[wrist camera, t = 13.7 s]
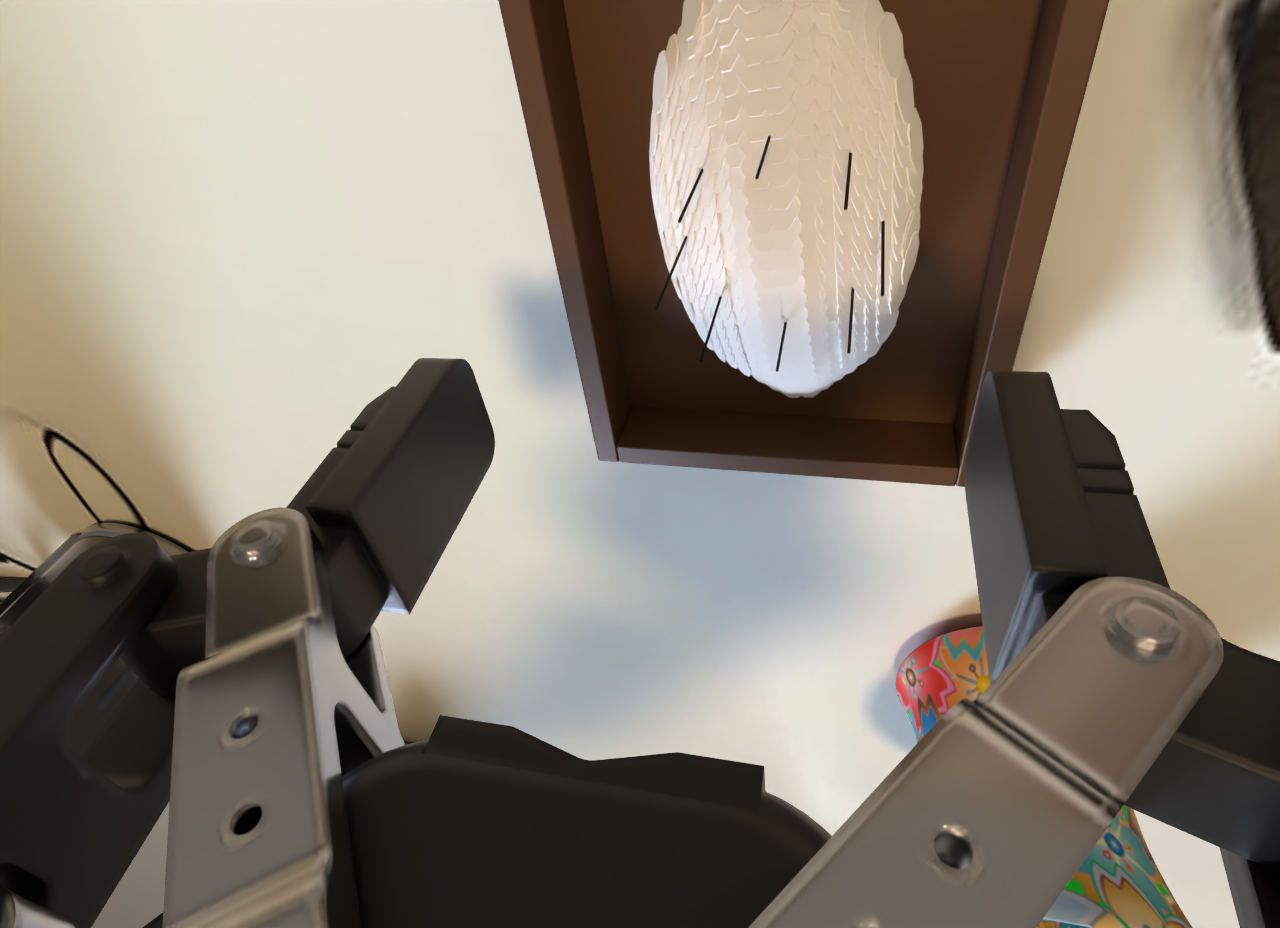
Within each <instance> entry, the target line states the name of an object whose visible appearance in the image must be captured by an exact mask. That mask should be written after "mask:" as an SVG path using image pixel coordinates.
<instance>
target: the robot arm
mask: <svg viewBox="0 0 1280 928" xmlns="http://www.w3.org/2000/svg"><path fill="white" fill-rule="evenodd" d="M350 427H351V430H347V431H346V432H345V434H344V435H343V436H342V438H341V439H340V440H339V441H338V443H337V448H333V449H332V450H331V452H330V453H329V454H328V455H327V457H326V458H325V459H324V460H323V462H322V463H321V464H320V466H319V467H318V468H317V469H316V471H315V472H314V473H313V474H312V476H311V477H310V478H309V480H308V481H307V482H306V483H305V485H304V486H303V487H302V488H301V490H300V491H299V492H298V494H297V495H296V496H295V497H294V499H293V500H292V501H291V503H290V504H289V505H288V506H287V508H273V509H268V510H264V511H261V512H257V513H255V514H253V515H250V516H248V517H246V518H244V519H242V520H241V521H239V522H237V523H236V524H234V525H233V526H232V527H230V528H229V529H228V530H227V531H225V532H224V533H223V534H222V535H221V536H220V537H219V539H218V540H217V541H216V542H215V544H214V545H213V547H212V548H210V549H205V550H199V551H194V552H188V551H186V550H185V549H183V548H181V547H180V546H178V545H176V544H174V543H172V542H170V541H168V540H166V539H164V538H162V537H160V536H158V535H155V534H153V533H150V532H147V531H145V530H142V529H139V528H135V527H132V526H128V525H123V524H117V523H98V524H94V525H92V526H90V527H88V528H87V529H86V530H85V531H84V532H83V533H82V534H81V535H80V536H77V535H71V536H70V537H69V538H68V539H67V540H66V541H65V542H64V543H63V544H62V545H61V546H60V547H59V548H58V549H57V550H56V551H55V552H54V553H53V554H52V555H51V556H49V557H48V558H47V559H46V560H45V561H44V562H43V563H42V564H41V565H40V566H39V567H38V568H37V569H36V570H35V571H34V572H33V573H32V574H31V575H30V576H29V577H27V578H0V593H1V592H12V593H11V594H10V595H9V596H8V597H7V598H5V599H4V600H3V601H2V602H1V603H0V928H91V926H92V925H93V923H94V922H95V920H96V918H97V917H98V915H99V913H100V912H101V910H102V909H103V907H104V906H105V904H106V902H107V901H108V899H109V897H110V896H111V894H112V893H113V891H114V889H115V888H116V886H117V885H118V883H119V881H120V880H121V878H122V877H123V875H124V873H125V872H126V870H127V868H128V867H129V865H130V864H131V862H132V860H133V859H134V857H135V856H136V854H137V852H138V851H139V849H140V847H141V846H142V844H143V843H144V841H145V839H146V838H147V836H148V835H149V833H150V831H151V830H152V828H153V826H154V825H155V823H156V822H157V820H158V818H159V816H160V815H161V814H162V812H163V810H164V809H165V807H166V806H167V804H168V802H169V801H170V806H169V824H168V842H167V861H166V878H165V897H164V912H163V913H161V914H160V915H159V916H158V917H156V918H155V919H153V920H152V921H151V922H149V923H148V924H147V925H146V926H144V927H143V928H1037V926H1038V925H1039V923H1040V922H1041V921H1042V919H1043V918H1044V916H1045V915H1046V914H1047V912H1048V911H1049V909H1050V908H1051V907H1052V905H1053V904H1054V902H1055V901H1056V899H1057V898H1058V897H1059V895H1060V894H1061V892H1062V891H1063V890H1064V888H1065V887H1066V885H1067V884H1068V883H1069V881H1070V880H1071V878H1072V877H1073V876H1074V874H1075V873H1076V871H1077V870H1078V868H1079V867H1080V866H1081V864H1082V863H1083V861H1084V860H1085V859H1086V857H1087V856H1088V854H1089V853H1090V852H1091V850H1092V849H1093V847H1094V846H1095V845H1096V843H1097V842H1098V840H1099V839H1100V837H1101V836H1102V835H1103V833H1104V832H1105V830H1106V829H1107V828H1108V826H1109V825H1110V823H1111V822H1112V821H1113V819H1114V818H1115V816H1116V815H1117V813H1118V812H1119V811H1120V809H1121V808H1122V806H1123V805H1125V806H1127V807H1130V808H1132V809H1134V810H1136V811H1139V812H1141V813H1143V814H1146V815H1148V816H1150V817H1152V818H1155V819H1157V820H1159V821H1161V822H1164V823H1166V824H1168V825H1171V826H1173V827H1175V828H1177V829H1180V830H1182V831H1184V832H1187V833H1189V834H1191V835H1193V836H1196V837H1198V838H1200V839H1202V840H1205V841H1207V842H1209V843H1212V844H1214V845H1216V846H1218V847H1220V851H1221V855H1222V859H1223V863H1224V867H1225V870H1226V874H1227V878H1228V882H1229V886H1230V890H1231V894H1232V898H1233V902H1234V906H1235V910H1236V913H1237V917H1238V921H1239V925H1240V928H1280V661H1277V660H1274V659H1271V658H1268V657H1265V656H1262V655H1259V654H1256V653H1253V652H1251V651H1248V650H1245V649H1243V648H1240V647H1238V646H1236V645H1234V644H1232V643H1230V642H1228V641H1226V640H1224V639H1222V638H1221V637H1220V635H1219V633H1218V631H1217V629H1216V628H1215V626H1214V624H1213V623H1212V622H1211V620H1210V619H1209V618H1208V617H1207V616H1206V614H1205V613H1203V612H1202V611H1201V610H1200V609H1199V608H1198V607H1197V606H1196V605H1195V604H1193V603H1192V602H1191V601H1189V600H1188V599H1186V598H1185V597H1183V596H1182V595H1180V594H1178V593H1176V592H1175V591H1173V590H1171V588H1170V586H1169V584H1168V581H1167V579H1166V576H1165V573H1164V570H1163V568H1162V565H1161V562H1160V559H1159V557H1158V554H1157V551H1156V548H1155V546H1154V543H1153V540H1152V537H1151V535H1150V532H1149V529H1148V526H1147V523H1146V521H1145V518H1144V515H1143V512H1142V510H1141V507H1140V504H1139V501H1138V499H1137V496H1136V495H1134V494H1133V491H1134V488H1133V485H1132V482H1131V479H1130V477H1129V474H1128V471H1125V463H1124V460H1123V457H1122V454H1121V452H1120V449H1119V446H1118V443H1117V441H1116V438H1115V436H1114V435H1113V434H1112V433H1111V432H1110V431H1109V430H1108V429H1107V428H1106V427H1105V426H1104V425H1103V424H1102V423H1101V422H1100V421H1099V420H1098V419H1097V418H1096V417H1095V416H1094V415H1093V414H1092V413H1091V412H1090V411H1089V410H1069V409H1060V407H1059V404H1058V400H1057V397H1056V394H1055V390H1054V387H1053V383H1052V380H1051V377H1050V375H1049V373H1047V372H1015V371H988V372H987V374H986V376H985V379H984V382H983V386H982V391H981V395H980V400H979V405H978V409H977V414H976V418H975V423H974V427H973V432H972V436H971V441H970V445H969V450H968V455H967V462H966V474H965V491H966V501H967V509H968V516H969V524H970V532H971V539H972V547H973V555H974V563H975V570H976V578H977V586H978V593H979V601H980V609H981V617H982V624H983V632H984V640H985V647H986V655H987V663H988V671H989V678H990V686H989V687H988V688H987V689H986V690H985V691H984V692H983V693H982V694H981V695H980V696H979V697H978V698H977V699H976V700H974V701H971V700H969V699H967V698H965V699H962V700H961V701H959V702H958V703H956V704H955V705H954V706H953V707H952V708H950V709H949V710H948V711H947V712H946V713H945V714H944V715H943V716H942V717H941V719H940V720H939V721H938V722H937V723H936V724H935V725H934V726H933V727H932V728H931V729H930V731H929V732H928V733H927V734H926V735H925V736H924V737H923V738H922V739H921V740H920V741H919V742H918V744H917V745H916V746H915V747H914V748H913V749H912V750H911V751H910V752H909V753H908V754H907V756H906V757H905V758H904V759H903V760H902V761H901V762H900V763H899V764H898V765H897V766H896V767H895V769H894V770H893V771H892V772H891V773H890V774H889V775H888V776H887V777H886V778H885V779H884V781H883V782H882V783H881V784H880V785H879V786H878V787H877V788H876V789H875V790H874V791H873V792H872V794H871V795H870V796H869V797H868V798H867V799H866V800H865V801H864V802H863V803H862V804H861V806H860V807H859V808H858V809H857V810H856V811H855V812H854V813H853V814H852V815H851V816H850V817H849V819H848V820H847V821H846V822H845V823H844V824H843V825H842V826H841V827H840V828H839V829H838V831H837V832H836V833H835V834H834V835H833V836H831V835H830V834H829V833H828V832H827V831H826V830H825V829H824V828H823V827H821V826H820V825H819V824H818V823H816V822H815V821H814V820H813V819H811V818H810V817H809V816H808V815H806V814H805V813H804V812H802V811H800V810H799V809H797V808H796V807H794V806H792V805H791V804H789V803H787V802H786V801H784V800H782V799H780V798H778V797H776V796H774V795H772V794H769V793H767V792H765V777H764V766H760V765H754V764H747V763H741V762H735V761H728V760H722V759H715V758H709V757H703V756H696V755H690V754H684V753H667V754H657V755H647V756H637V757H626V758H616V759H606V760H596V761H589V760H583V759H580V758H578V757H576V756H573V755H571V754H569V753H567V752H565V751H563V750H561V749H559V748H557V747H554V746H552V745H550V744H548V743H546V742H544V741H542V740H540V739H538V738H535V737H533V736H531V735H529V734H527V733H525V732H523V731H521V730H519V729H516V728H514V727H511V726H505V725H499V724H492V723H486V722H480V721H473V720H467V719H460V718H454V717H448V716H441V715H440V716H439V718H438V721H437V723H436V725H435V727H434V729H433V732H432V734H431V736H430V738H429V740H424V741H419V742H415V743H411V744H407V745H405V744H404V741H403V739H402V736H401V734H400V731H399V728H398V724H397V720H396V715H395V710H394V705H393V700H392V696H391V691H390V686H389V681H388V677H387V672H386V667H385V662H384V657H383V653H382V648H381V643H380V638H379V635H378V632H377V630H376V629H375V627H374V625H373V623H374V621H375V620H376V618H377V616H378V614H379V613H380V611H386V612H395V613H403V614H410V613H411V611H412V609H413V607H414V605H415V603H416V602H417V600H418V598H419V596H420V594H421V592H422V590H423V589H424V587H425V585H426V583H427V581H428V579H429V578H430V576H431V574H432V572H433V570H434V568H435V566H436V565H437V563H438V561H439V559H440V557H441V555H442V554H443V552H444V550H445V548H446V546H447V544H448V542H449V541H450V539H451V537H452V535H453V533H454V531H455V530H456V528H457V526H458V524H459V522H460V520H461V518H462V517H463V515H464V513H465V511H466V509H467V507H468V506H469V504H470V502H471V500H472V498H473V496H474V494H475V493H476V491H477V489H478V487H479V485H480V483H481V482H482V480H483V478H484V476H485V474H486V472H487V470H488V469H489V467H490V465H491V462H492V459H493V455H494V447H495V439H494V432H493V428H492V425H491V422H490V419H489V416H488V413H487V411H486V408H485V405H484V402H483V399H482V396H481V393H480V390H479V387H478V385H477V382H476V379H475V376H474V373H473V370H472V368H471V366H470V364H469V363H468V362H467V361H466V360H464V359H438V358H421V359H418V360H417V361H416V362H415V363H414V364H413V365H412V367H411V368H410V369H409V371H408V372H407V373H406V375H405V376H404V377H403V378H402V380H401V381H400V382H399V384H398V385H397V386H396V387H391V388H390V389H388V390H387V391H386V392H384V393H383V394H382V395H380V396H379V397H377V398H376V399H375V400H373V401H372V402H370V403H369V404H368V405H367V406H366V407H365V408H364V409H363V411H362V412H361V413H360V415H359V416H358V417H357V418H356V420H355V421H354V422H353V423H352V425H351V426H350Z"/></svg>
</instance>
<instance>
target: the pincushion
mask: <svg viewBox="0 0 1280 928" xmlns="http://www.w3.org/2000/svg"><path fill="white" fill-rule="evenodd" d="M652 99H653V107H652V115H651V130H650V150H649V162H650V181H651V192H652V199H653V206H654V212H655V218H656V221H657V226H658V233H659V235H660V239H661V244H662V248H663V251H664V257H665V261H666V265H667V268H668V271H669V276H668V278H667V281H666V283H665V285H664V288H663V290H662V293H661V295H660V297H659V300H658V302H657V304H656V307H655V310H658V307H659V305H660V303H661V300H662V298H663V295H664V293H665V291H666V288H667V286H668V283H669V281H670V279H672V282H673V285H674V287H675V290H676V292H677V295H678V297H679V299H681V300H682V303H683V305H684V308H685V310H686V312H687V314H688V316H689V318H690V320H691V322H692V323H693V324H694V326H695V328H696V330H697V332H698V334H699V336H700V337H701V339H702V340H703V341H704V343H705V345H704V348H703V351H702V354H701V357H700V361H701V362H702V360H703V357H704V354H705V350H706V347H708V348H709V349H710V350H714V351H715V353H716V354H717V356H718V357H719V359H720V360H722V361H723V362H724V363H725V361H727V362H728V363H729V364H730V366H731V367H733V368H735V369H737V368H738V369H739V370H740V371H741V372H742V373H743V374H744V375H746V376H748V377H750V374H751V375H752V376H753V377H754V378H755V379H756V380H757V381H758V382H761V383H765V384H766V385H767V386H769V387H770V388H771V389H773V390H774V391H779V392H780V393H782V394H784V395H786V396H788V397H789V398H799V397H800V396H803V397H804V398H806V397H815V396H816V395H817V394H818V393H820V392H821V390H826V389H828V388H829V387H830V386H831V385H832V384H833V383H834V382H835V381H838V380H841V379H842V378H843V377H844V376H845V374H849V373H851V372H854V370H855V369H856V368H857V366H858V365H861V364H863V363H865V362H866V361H867V360H868V358H869V357H872V356H874V355H875V354H877V352H878V350H879V349H880V347H881V345H882V344H883V342H885V341H886V340H887V338H888V336H889V335H890V333H891V332H892V330H893V329H894V327H895V324H896V321H897V318H898V314H899V310H898V308H899V306H900V304H901V302H902V300H903V298H904V296H905V293H906V289H907V284H908V281H909V278H910V276H911V273H912V271H913V268H914V266H915V263H916V258H917V253H918V248H919V235H918V234H919V229H920V201H921V195H922V188H923V187H922V178H923V172H924V170H923V134H922V123H921V120H920V117H919V115H918V112H917V109H916V107H915V108H914V95H913V81H912V77H911V74H910V71H909V68H908V65H907V62H906V59H904V49H903V35H902V33H901V30H900V28H899V26H898V23H897V21H896V19H895V16H894V14H893V13H889V12H885V13H884V11H883V9H882V6H881V4H880V2H879V0H685V1H684V4H683V13H682V25H681V26H680V27H679V29H678V33H677V36H676V34H673V35H672V36H671V37H670V38H669V41H668V45H667V49H666V51H665V50H663V51H662V52H660V53H659V56H658V60H657V65H656V69H655V73H654V81H653V97H652ZM663 231H664V234H663ZM664 235H665V237H664ZM665 239H666V240H665Z"/></svg>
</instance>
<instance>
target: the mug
mask: <svg viewBox="0 0 1280 928" xmlns="http://www.w3.org/2000/svg"><path fill="white" fill-rule="evenodd" d="M989 686H990V678H989V671H988V663H987V655H986V647H985V640H984V632H983V626H980V627H973V628H967V629H962V630H957V631H954V632H950V633H947V634H944V635H941V636H938V637H936V638H933V639H931V640H929V641H927V642H926V643H924V644H922V645H921V646H919V647H918V648H917V649H915V650H914V651H913V652H912V653H911V654H910V655H909V656H908V657H907V658H906V659H905V660H904V662H903V663H902V664H901V666H900V668H899V671H898V674H897V678H896V690H897V693H898V696H899V699H900V701H901V703H902V705H903V706H904V708H905V710H906V712H907V714H908V715H909V718H910V720H911V723H912V725H913V728H914V731H915V735H916V738H917V742H919V741H920V740H921V739H922V738H923V737H924V736H925V735H926V734H927V733H928V732H929V731H930V729H931V728H932V727H933V726H934V725H935V724H936V723H937V722H938V721H939V720H940V719H941V717H942V716H943V715H944V714H945V713H946V712H947V711H948V710H949V709H950V708H952V707H953V706H954V705H955V704H956V703H958V702H959V701H961V700H962V699H965V698H967V699H969V700H971V701H974V700H976V699H977V698H978V697H979V696H980V695H981V694H982V693H983V692H984V691H985V690H986V689H987V688H988V687H989ZM1037 928H1192V926H1191V925H1190V923H1189V922H1188V920H1187V918H1186V917H1185V915H1184V914H1183V912H1182V911H1181V909H1180V907H1179V906H1178V904H1177V902H1176V901H1175V899H1174V897H1173V896H1172V894H1171V892H1170V890H1169V888H1168V887H1167V885H1166V883H1165V881H1164V879H1163V878H1162V876H1161V874H1160V872H1159V870H1158V868H1157V866H1156V864H1155V862H1154V860H1153V858H1152V856H1151V854H1150V852H1149V849H1148V847H1147V845H1146V842H1145V840H1144V838H1143V835H1142V833H1141V830H1140V827H1139V824H1138V822H1137V819H1136V816H1135V813H1134V810H1133V809H1132V808H1130V807H1127V806H1125V805H1123V806H1122V808H1121V809H1120V811H1119V812H1118V813H1117V815H1116V816H1115V818H1114V819H1113V821H1112V822H1111V823H1110V825H1109V826H1108V828H1107V829H1106V830H1105V832H1104V833H1103V835H1102V836H1101V837H1100V839H1099V840H1098V842H1097V843H1096V845H1095V846H1094V847H1093V849H1092V850H1091V852H1090V853H1089V854H1088V856H1087V857H1086V859H1085V860H1084V861H1083V863H1082V864H1081V866H1080V867H1079V868H1078V870H1077V871H1076V873H1075V874H1074V876H1073V877H1072V878H1071V880H1070V881H1069V883H1068V884H1067V885H1066V887H1065V888H1064V890H1063V891H1062V892H1061V894H1060V895H1059V897H1058V898H1057V899H1056V901H1055V902H1054V904H1053V905H1052V907H1051V908H1050V909H1049V911H1048V912H1047V914H1046V915H1045V916H1044V918H1043V919H1042V921H1041V922H1040V923H1039V925H1038V926H1037Z"/></svg>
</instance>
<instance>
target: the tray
mask: <svg viewBox="0 0 1280 928" xmlns="http://www.w3.org/2000/svg"><path fill="white" fill-rule="evenodd" d="M684 1H685V0H499V4H500V9H501V14H502V18H503V23H504V27H505V32H506V37H507V41H508V46H509V50H510V55H511V60H512V64H513V69H514V73H515V78H516V82H517V87H518V92H519V96H520V101H521V105H522V110H523V115H524V119H525V124H526V128H527V133H528V138H529V142H530V147H531V151H532V156H533V161H534V165H535V170H536V174H537V179H538V183H539V188H540V193H541V197H542V202H543V206H544V211H545V216H546V220H547V225H548V229H549V234H550V239H551V243H552V248H553V252H554V257H555V262H556V266H557V271H558V275H559V280H560V285H561V289H562V294H563V298H564V303H565V307H566V312H567V317H568V321H569V326H570V330H571V335H572V340H573V344H574V349H575V353H576V358H577V363H578V367H579V372H580V376H581V381H582V386H583V390H584V395H585V399H586V404H587V408H588V413H589V418H590V422H591V427H592V431H593V436H594V441H595V445H596V450H597V454H598V459H599V460H600V461H613V462H618V461H620V462H627V463H641V464H655V465H668V466H682V467H696V468H710V469H724V470H738V471H751V472H765V473H779V474H793V475H807V476H820V477H834V478H848V479H862V480H876V481H890V482H903V483H917V484H931V485H945V486H955V484H956V485H957V486H962V487H965V474H966V462H967V455H968V450H969V445H970V441H971V436H972V432H973V427H974V423H975V418H976V414H977V409H978V405H979V400H980V395H981V391H982V386H983V382H984V379H985V376H986V374H987V372H988V371H1012V369H1013V366H1014V362H1015V358H1016V354H1017V350H1018V346H1019V343H1020V339H1021V335H1022V331H1023V327H1024V324H1025V320H1026V316H1027V312H1028V308H1029V305H1030V301H1031V297H1032V293H1033V289H1034V285H1035V282H1036V278H1037V274H1038V270H1039V266H1040V263H1041V259H1042V255H1043V251H1044V247H1045V244H1046V240H1047V236H1048V232H1049V228H1050V225H1051V221H1052V217H1053V213H1054V209H1055V205H1056V202H1057V198H1058V194H1059V190H1060V186H1061V183H1062V179H1063V175H1064V171H1065V167H1066V164H1067V160H1068V156H1069V152H1070V148H1071V144H1072V141H1073V137H1074V133H1075V129H1076V125H1077V122H1078V118H1079V114H1080V110H1081V106H1082V103H1083V99H1084V95H1085V91H1086V87H1087V84H1088V80H1089V76H1090V72H1091V68H1092V64H1093V61H1094V57H1095V53H1096V49H1097V45H1098V42H1099V38H1100V34H1101V30H1102V26H1103V23H1104V19H1105V15H1106V11H1107V7H1108V3H1109V0H879V2H880V4H881V6H882V9H883V11H884V13H885V12H889V13H893V14H894V16H895V19H896V21H897V23H898V26H899V28H900V30H901V33H902V35H903V49H904V59H906V62H907V65H908V68H909V71H910V74H911V77H912V81H913V95H914V108H915V107H916V109H917V112H918V115H919V117H920V120H921V123H922V134H923V170H924V172H923V178H922V187H923V188H922V195H921V201H920V229H919V234H918V235H919V248H918V253H917V258H916V263H915V266H914V268H913V271H912V273H911V276H910V278H909V281H908V284H907V289H906V293H905V296H904V298H903V300H902V302H901V304H900V306H899V308H898V310H899V314H898V318H897V321H896V324H895V327H894V329H893V330H892V332H891V333H890V335H889V336H888V338H887V340H886V341H885V342H883V344H882V345H881V347H880V349H879V350H878V352H877V354H875V355H874V356H872V357H869V358H868V360H867V361H866V362H865V363H863V364H861V365H858V366H857V368H856V369H855V370H854V372H851V373H849V374H845V376H844V377H843V378H842V379H841V380H838V381H835V382H834V383H833V384H832V385H831V386H830V387H829V388H828V389H826V390H821V392H820V393H818V394H817V395H816V396H815V397H806V398H804V397H803V396H800V397H799V398H789V397H788V396H786V395H784V394H782V393H780V392H779V391H774V390H773V389H771V388H770V387H769V386H767V385H766V384H765V383H761V382H758V381H757V380H756V379H755V378H754V377H753V376H752V375H751V374H750V377H748V376H746V375H744V374H743V373H742V372H741V371H740V370H739V369H738V368H737V369H735V368H733V367H731V366H730V364H729V363H728V362H727V361H725V363H724V362H723V361H722V360H720V359H719V357H718V356H717V354H716V353H715V351H714V350H710V349H709V348H708V347H706V350H705V354H704V357H703V360H702V362H701V361H700V357H701V354H702V351H703V348H704V345H705V343H704V341H703V340H702V339H701V337H700V336H699V334H698V332H697V330H696V328H695V326H694V324H693V323H692V322H691V320H690V318H689V316H688V314H687V312H686V310H685V308H684V305H683V303H682V300H681V299H679V297H678V295H677V292H676V290H675V287H674V285H673V282H672V279H670V281H669V283H668V286H667V288H666V291H665V293H664V295H663V298H662V300H661V303H660V305H659V307H658V310H655V307H656V304H657V302H658V300H659V297H660V295H661V293H662V290H663V288H664V285H665V283H666V281H667V278H668V276H669V271H668V268H667V265H666V261H665V257H664V251H663V248H662V244H661V239H660V235H659V233H658V226H657V221H656V218H655V212H654V206H653V199H652V192H651V181H650V162H649V150H650V130H651V115H652V107H653V99H652V97H653V81H654V73H655V69H656V65H657V60H658V56H659V53H660V52H662V51H663V50H665V51H666V49H667V45H668V41H669V38H670V37H671V36H672V35H673V34H676V36H677V33H678V29H679V27H680V26H681V25H682V13H683V4H684ZM663 234H664V231H663ZM664 237H665V235H664ZM665 240H666V239H665Z"/></svg>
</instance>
